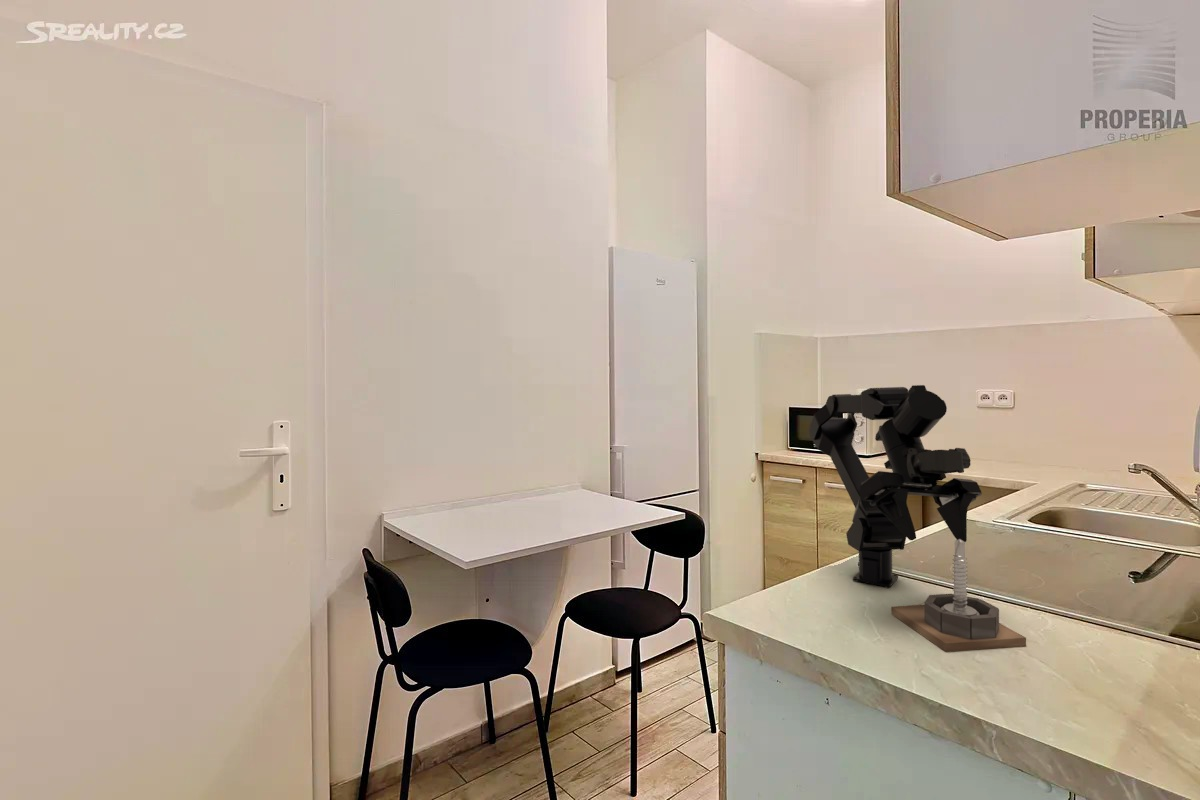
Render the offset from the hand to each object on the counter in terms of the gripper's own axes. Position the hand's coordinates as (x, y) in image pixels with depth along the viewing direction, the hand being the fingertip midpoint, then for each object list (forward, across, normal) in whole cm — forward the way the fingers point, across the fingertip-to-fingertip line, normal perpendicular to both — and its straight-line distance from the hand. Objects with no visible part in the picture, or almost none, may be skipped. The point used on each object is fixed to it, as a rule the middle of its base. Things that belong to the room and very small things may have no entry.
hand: (938, 541), depth 89 cm
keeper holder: (+12, +3, +6) cm, 13 cm away
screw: (+12, +2, +4) cm, 12 cm away
